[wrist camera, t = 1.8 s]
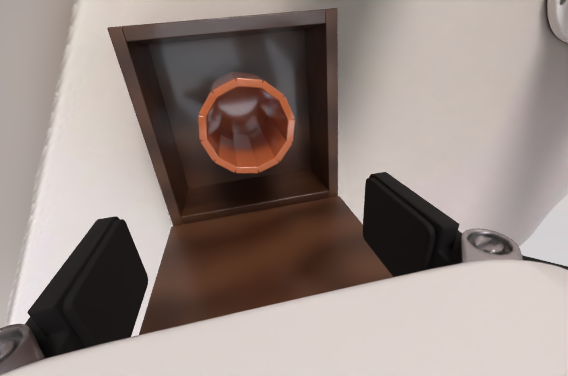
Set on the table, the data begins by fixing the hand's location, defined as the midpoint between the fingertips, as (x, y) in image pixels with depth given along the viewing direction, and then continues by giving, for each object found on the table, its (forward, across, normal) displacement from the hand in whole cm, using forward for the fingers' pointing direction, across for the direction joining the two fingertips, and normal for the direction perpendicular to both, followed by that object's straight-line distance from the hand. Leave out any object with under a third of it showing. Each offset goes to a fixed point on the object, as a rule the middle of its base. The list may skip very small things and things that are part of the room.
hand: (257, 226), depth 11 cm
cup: (+19, -1, -2) cm, 19 cm away
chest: (+20, -1, 0) cm, 20 cm away
